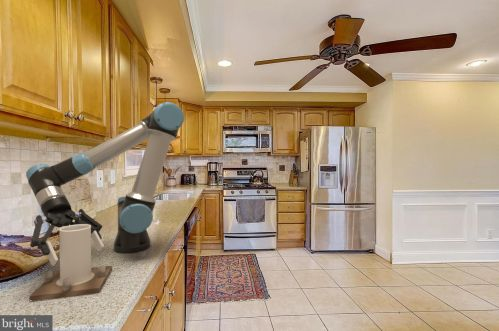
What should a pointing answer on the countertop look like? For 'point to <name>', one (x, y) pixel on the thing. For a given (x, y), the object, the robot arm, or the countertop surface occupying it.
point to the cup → (75, 252)
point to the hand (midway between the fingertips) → (80, 255)
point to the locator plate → (66, 289)
